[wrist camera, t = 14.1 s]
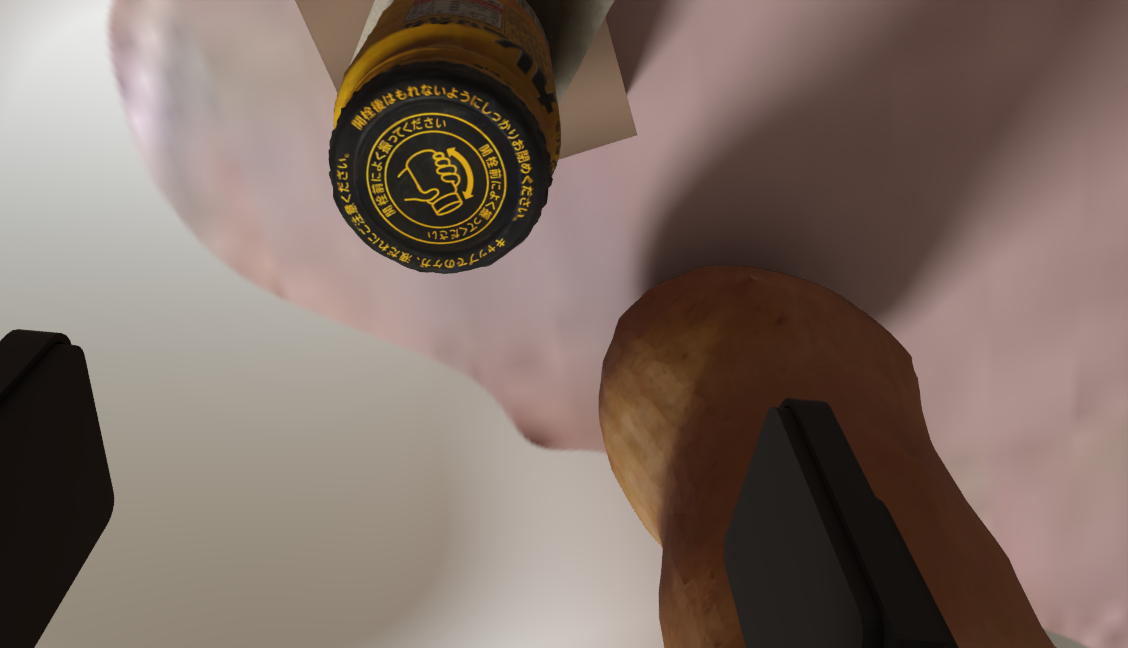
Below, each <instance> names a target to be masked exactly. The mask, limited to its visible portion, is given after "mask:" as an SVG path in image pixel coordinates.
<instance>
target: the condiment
mask: <svg viewBox="0 0 1128 648" xmlns="http://www.w3.org/2000/svg"><path fill="white" fill-rule="evenodd" d="M613 2H614V0H375V1H374V4H373V6H372V9H371V12H370V14H369V17H368V19H367V22H366V24H365V27H364V30H363V32H362V35H361V37H360V40H359V43H358V45H357V48H356V50H355V53H354V55H353V58H352V60H351V63H350V66H349V68H348V69H347V70H346V71H345V73H344V78H343V81H342V84H341V87H340V89H339V92H338V94H337V99H336V102H335V108H334V130H333V131H332V137H331V139H330V149H329V165H330V170H331V171H330V172H329V176H330V179H331V182H332V185H333V198H334V200H335V203H336V205H337V207H338V209H339V211H340V213H341V214H342V216H343V218H344V219H345V221H346V222H347V224H348V225H349V226H350V227H351V228H352V229H353V230H354V231H355V233H356V234H357V235H358V236H359V237H360V238H361V239H362V240H363V241H364V242H365V243H366V244H367V245H368V246H369V247H370V248H372V249H373V250H375V251H376V252H378V253H379V254H381V255H383V256H385V257H387V258H389V259H391V260H393V261H396V262H397V263H399V264H401V265H403V266H405V267H407V268H409V269H414V270H417V271H419V272H426V273H427V272H435V273H442V274H448V273H457V272H462V271H468V270H472V269H475V268H479V267H486V266H489V265H491V264H493V263H494V262H496V261H497V260H499V259H500V258H502V257H503V256H504V255H506V254H507V253H508V252H510V251H511V250H512V249H513V248H515V247H516V246H518V245H519V244H520V243H522V242H523V241H524V240H525V239H526V238H527V237H528V235H529V234H530V232H531V230H532V228H533V226H534V225H535V224H536V223H537V222H538V219H539V218H540V216H541V210H542V208H543V207H544V206H545V205H546V204H547V198H548V188H549V187H550V186H551V184H552V180H553V179H552V175H553V173H554V170H555V168H556V167H557V161H558V159H559V155H560V148H561V123H560V115H559V107H558V105H559V104H560V101H561V99H562V97H563V95H564V94H565V92H566V90H567V88H568V87H569V85H570V83H571V81H572V79H573V77H574V75H575V74H576V72H577V70H578V68H579V67H580V65H581V63H582V60H583V58H584V56H585V55H586V53H587V51H588V49H589V47H590V45H591V43H592V42H593V40H594V37H595V35H596V33H597V31H598V30H599V28H600V26H601V24H602V22H603V20H604V18H605V16H606V15H607V13H608V11H609V9H610V7H611V6H612V4H613ZM552 36H553V37H552ZM551 37H552V38H551Z"/></svg>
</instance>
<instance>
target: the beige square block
mask: <svg viewBox="0 0 1128 648" xmlns="http://www.w3.org/2000/svg"><path fill="white" fill-rule="evenodd" d="M295 1H296V3H297V6H298V8H299V10H300V12H301V14H302V16H303V19H304V21H305V23H306V25H307V27H308V29H309V32H310V34H311V36H312V38H313V40H314V42H315V45H316V47H317V49H318V51H319V53H320V56H321V58H322V60H323V62H324V64H325V66H326V69H327V71H328V73H329V75H330V77H331V79H332V82H333V84H334V86H335V88H336V90H337V92H339V89H340V87H341V84H342V81H343V78H344V73H345V71H346V70H347V69H348V68H349V66H350V63H351V60H352V58H353V55H354V53H355V50H356V48H357V45H358V43H359V40H360V37H361V35H362V32H363V30H364V27H365V24H366V22H367V19H368V17H369V14H370V12H371V9H372V6H373V4H374V1H375V0H295ZM552 37H553V36H552ZM552 37H551V38H552ZM558 107H559V115H560V123H561V148H560V155H559V159H562V158H565V157H568V156H571V155H575V154H578V153H581V152H584V151H587V150H591V149H594V148H597V147H600V146H603V145H606V144H610V143H613V142H616V141H619V140H622V139H626V138H629V137H632V136H635V135H637V132H636V129H635V125H634V121H633V118H632V114H631V110H630V106H629V103H628V99H627V95H626V91H625V88H624V84H623V80H622V77H621V73H620V69H619V65H618V62H617V58H616V54H615V51H614V47H613V43H612V39H611V36H610V32H609V28H608V24H607V21H606V17H605V18H604V20H603V22H602V24H601V26H600V28H599V30H598V31H597V33H596V35H595V37H594V40H593V42H592V43H591V45H590V47H589V49H588V51H587V53H586V55H585V56H584V58H583V60H582V63H581V65H580V67H579V68H578V70H577V72H576V74H575V75H574V77H573V79H572V81H571V83H570V85H569V87H568V88H567V90H566V92H565V94H564V95H563V97H562V99H561V101H560V104H559V105H558ZM559 159H558V160H559Z"/></svg>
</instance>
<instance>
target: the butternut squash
mask: <svg viewBox="0 0 1128 648" xmlns="http://www.w3.org/2000/svg"><path fill="white" fill-rule="evenodd" d="M786 398H794V399H806V400H817V401H825V402H827V403H828V404H829V406H830V407H831V409H832V411H833V413H834V415H835V417H836V419H837V421H838V423H839V425H840V427H841V429H842V431H843V433H844V435H845V437H846V439H847V441H848V443H849V445H850V447H851V449H852V451H853V453H854V455H855V457H856V459H857V461H858V463H859V465H860V467H861V469H862V471H863V473H864V475H865V477H866V479H867V481H868V483H869V485H870V487H871V489H872V491H873V493H874V495H875V497H877V498H878V499H880V500H882V501H883V503H884V504H885V505H886V507H887V508H888V510H889V512H890V514H891V516H892V518H893V520H894V522H895V524H896V526H897V527H898V529H899V531H900V533H901V535H902V537H903V539H904V541H905V543H906V545H907V547H908V549H909V551H910V553H911V555H912V557H913V559H914V561H915V563H916V565H917V567H918V569H919V571H920V573H921V575H922V577H923V578H924V580H925V582H926V584H927V586H928V588H929V590H930V592H931V594H932V596H933V598H934V600H935V602H936V604H937V606H938V608H939V610H940V612H941V614H942V616H943V618H944V620H945V622H946V624H947V626H948V628H949V630H950V631H951V633H952V635H953V637H954V639H955V641H956V643H957V645H958V647H959V648H1056V647H1055V646H1054V645H1053V643H1052V642H1051V640H1050V639H1049V637H1048V636H1047V634H1046V632H1045V631H1044V629H1043V628H1042V626H1041V625H1040V623H1039V621H1038V619H1037V617H1036V615H1035V613H1034V611H1033V609H1032V607H1031V605H1030V602H1029V600H1028V598H1027V596H1026V594H1025V592H1024V590H1023V588H1022V586H1021V584H1020V582H1019V580H1018V578H1017V576H1016V574H1015V572H1014V569H1013V567H1012V565H1011V562H1010V560H1009V558H1008V557H1007V555H1006V554H1005V552H1004V551H1003V550H1002V548H1001V547H1000V545H999V544H998V542H997V541H996V539H995V538H994V537H993V535H992V534H991V533H990V532H989V530H988V529H987V528H986V526H985V525H984V524H983V522H982V521H981V520H980V518H979V517H978V516H977V514H976V513H975V511H974V510H973V509H972V507H971V506H970V505H969V503H968V502H967V501H966V499H965V497H964V496H963V494H962V493H961V491H960V489H959V488H958V486H957V485H956V483H955V481H954V480H953V478H952V477H951V475H950V473H949V472H948V470H947V468H946V467H945V465H944V464H943V462H942V460H941V459H940V457H939V456H938V454H937V452H936V451H935V449H934V447H933V445H932V442H931V440H930V437H929V433H928V430H927V426H926V422H925V419H924V415H923V412H922V406H921V400H920V390H919V384H918V378H917V376H916V373H915V371H914V368H913V364H912V357H911V355H910V354H909V353H908V352H907V351H906V349H905V348H904V347H903V346H902V345H901V344H900V343H899V342H898V341H897V340H896V339H895V337H894V336H893V335H892V334H891V333H890V332H888V331H887V330H886V329H885V328H884V327H883V326H881V325H880V324H879V323H878V322H876V321H875V320H874V319H873V318H871V317H870V316H869V315H867V314H866V313H865V312H863V311H862V310H860V309H859V308H858V307H856V306H855V305H853V304H852V303H851V302H849V301H848V300H846V299H845V298H844V297H842V296H840V295H838V294H837V293H835V292H833V291H831V290H829V289H827V288H824V287H822V286H819V285H817V284H814V283H812V282H809V281H807V280H804V279H801V278H797V277H794V276H791V275H787V274H784V273H779V272H774V271H769V270H764V269H759V268H754V267H746V266H706V267H700V268H697V269H694V270H691V271H689V272H686V273H684V274H682V275H679V276H677V277H675V278H673V279H670V280H668V281H666V282H663V283H661V284H659V285H657V286H654V287H652V288H651V289H649V290H648V291H647V292H646V293H644V294H643V296H642V297H641V298H640V299H639V300H638V301H637V302H635V303H634V304H633V305H632V306H631V307H630V308H629V309H628V310H627V311H626V312H625V313H624V314H623V315H622V316H621V317H620V318H619V320H618V323H617V326H616V329H615V333H614V336H613V339H612V341H611V344H610V346H609V348H608V351H607V353H606V355H605V358H604V360H603V367H602V375H601V384H600V391H599V419H600V426H601V430H602V435H603V440H604V444H605V448H606V451H607V455H608V458H609V462H610V465H611V469H612V471H613V473H614V475H615V477H616V479H617V481H618V483H619V484H620V486H621V488H622V490H623V492H624V494H625V496H626V498H627V499H628V501H629V503H630V504H631V506H632V508H633V509H634V511H635V512H636V514H637V515H638V517H639V519H640V520H641V522H642V523H643V525H644V526H645V528H646V529H647V530H648V532H649V533H650V534H651V535H652V536H653V537H654V539H655V540H656V541H657V542H658V543H659V544H660V545H661V546H662V548H663V555H662V568H661V578H660V586H659V619H660V625H661V630H662V636H663V642H664V648H746V646H745V642H744V638H743V634H742V630H741V627H740V623H739V619H738V615H737V611H736V607H735V603H734V599H733V595H732V591H731V587H730V584H729V580H728V576H727V572H726V568H725V564H724V556H723V548H724V540H725V536H726V533H727V530H728V527H729V524H730V521H731V518H732V515H733V512H734V509H735V506H736V503H737V500H738V498H739V495H740V492H741V489H742V486H743V483H744V480H745V477H746V474H747V471H748V468H749V465H750V462H751V459H752V456H753V453H754V450H755V447H756V444H757V441H758V438H759V435H760V432H761V429H762V426H763V423H764V420H765V417H766V414H767V412H768V410H769V409H770V408H771V407H780V405H781V403H782V402H783V400H784V399H786Z"/></svg>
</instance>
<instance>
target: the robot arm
mask: <svg viewBox="0 0 1128 648" xmlns="http://www.w3.org/2000/svg"><path fill="white" fill-rule="evenodd" d="M113 506H114V492H113V487H112V483H111V478H110V473H109V469H108V464H107V459H106V454H105V450H104V445H103V440H102V436H101V431H100V426H99V422H98V417H97V412H96V407H95V402H94V398H93V393H92V388H91V383H90V379H89V374H88V369H87V364H86V360H85V355H84V352H83V350H82V349H81V348H80V347H79V346H76V345H71V342H70V340H69V338H68V337H67V336H66V335H64V334H62V333H54V332H43V331H31V330H21V329H18V330H12V331H11V332H10V333H8V334H7V335H6V336H5V337H4V338H3V339H2V340H1V341H0V648H34V647H35V645H36V644H37V642H38V640H39V639H40V637H41V635H42V634H43V632H44V630H45V629H46V627H47V625H48V623H49V622H50V620H51V618H52V617H53V615H54V613H55V612H56V610H57V608H58V607H59V605H60V603H61V602H62V600H63V598H64V597H65V595H66V593H67V591H68V590H69V588H70V586H71V585H72V583H73V581H74V580H75V577H76V576H77V575H78V573H79V571H80V570H81V568H82V566H83V564H84V563H85V561H86V559H87V558H88V556H89V554H90V553H91V551H92V549H93V548H94V546H95V544H96V542H97V541H98V539H99V537H100V536H101V534H102V532H103V531H104V529H105V527H106V526H107V524H108V522H109V520H110V518H111V514H112V511H113ZM723 556H724V564H725V568H726V572H727V576H728V580H729V584H730V587H731V591H732V595H733V599H734V603H735V607H736V611H737V615H738V619H739V623H740V627H741V630H742V634H743V638H744V642H745V646H746V648H959V647H958V645H957V643H956V641H955V639H954V637H953V635H952V633H951V631H950V630H949V628H948V626H947V624H946V622H945V620H944V618H943V616H942V614H941V612H940V610H939V608H938V606H937V604H936V602H935V600H934V598H933V596H932V594H931V592H930V590H929V588H928V586H927V584H926V582H925V580H924V578H923V577H922V575H921V573H920V571H919V569H918V567H917V565H916V563H915V561H914V559H913V557H912V555H911V553H910V551H909V549H908V547H907V545H906V543H905V541H904V539H903V537H902V535H901V533H900V531H899V529H898V527H897V526H896V524H895V522H894V520H893V518H892V516H891V514H890V512H889V510H888V508H887V507H886V505H885V504H884V503H883V501H882V500H880V499H878V498H877V497H875V495H874V493H873V491H872V489H871V487H870V485H869V483H868V481H867V479H866V477H865V475H864V473H863V471H862V469H861V467H860V465H859V463H858V461H857V459H856V457H855V455H854V453H853V451H852V449H851V447H850V445H849V443H848V441H847V439H846V437H845V435H844V433H843V431H842V429H841V427H840V425H839V423H838V421H837V419H836V417H835V415H834V413H833V411H832V409H831V407H830V406H829V404H828V403H827V402H825V401H817V400H806V399H794V398H786V399H784V400H783V402H782V403H781V405H780V407H771V408H770V409H769V410H768V412H767V414H766V417H765V420H764V423H763V426H762V429H761V432H760V435H759V438H758V441H757V444H756V447H755V450H754V453H753V456H752V459H751V462H750V465H749V468H748V471H747V474H746V477H745V480H744V483H743V486H742V489H741V492H740V495H739V498H738V500H737V503H736V506H735V509H734V512H733V515H732V518H731V521H730V524H729V527H728V530H727V533H726V536H725V540H724V548H723Z"/></svg>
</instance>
